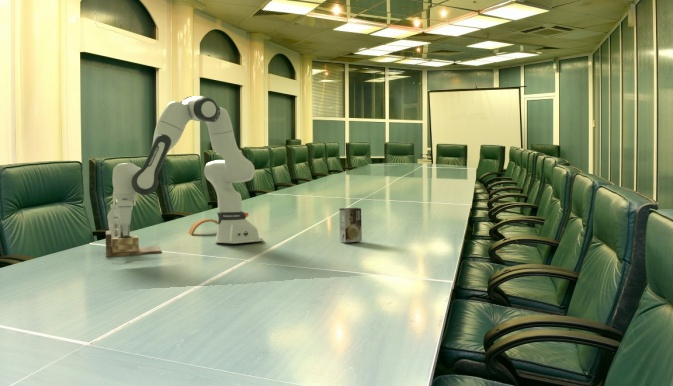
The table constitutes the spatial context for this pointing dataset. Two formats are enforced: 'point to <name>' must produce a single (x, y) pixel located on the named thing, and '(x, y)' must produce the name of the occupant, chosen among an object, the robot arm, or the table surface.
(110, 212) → the plastic bottle
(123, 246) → the tan square frame
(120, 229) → the dowel
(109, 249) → the jig
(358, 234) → the coffee box
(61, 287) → the table surface
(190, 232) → the arch
